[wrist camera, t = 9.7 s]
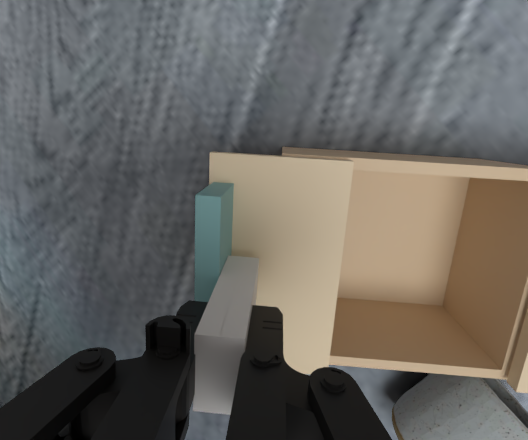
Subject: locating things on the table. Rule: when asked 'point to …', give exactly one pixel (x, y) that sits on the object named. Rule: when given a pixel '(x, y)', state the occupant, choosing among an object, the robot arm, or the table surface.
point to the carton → (431, 263)
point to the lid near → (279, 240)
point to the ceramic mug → (459, 410)
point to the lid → (520, 362)
